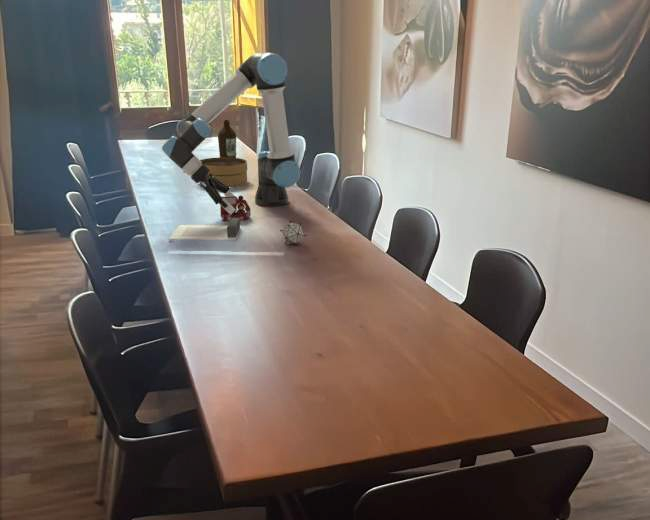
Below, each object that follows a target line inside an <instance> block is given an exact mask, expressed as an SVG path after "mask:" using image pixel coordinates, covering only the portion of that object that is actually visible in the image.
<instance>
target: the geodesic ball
mask: <svg viewBox="0 0 650 520" xmlns="http://www.w3.org/2000/svg"><path fill="white" fill-rule="evenodd" d="M301 225H302V222H300V223H294V222H291V220H289V223H288V224H287V225H286V226H285V227H284V228H283V229H280V230H279V232H282V235H283V237H284V240H285V241H284V243H285V244H287V243H290V244H295V246H296V247H297V246H298V243H299V242H300V241H301V240H302V239H303V238H304V237H307V235H306V234H305V233H304V230H303V228H302V226H301Z"/></svg>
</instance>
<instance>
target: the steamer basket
mask: <svg viewBox="0 0 650 520" xmlns="http://www.w3.org/2000/svg"><path fill="white" fill-rule="evenodd" d="M199 160H200V161H201V162H202V165H205V166H206V167H207V168H208V169H209V170H210V171H209V172H208V173H207V174H208V175H209V174H212V175H213V176H214V177H215V178H217V179H218V180H219V181H221V182H222V183H224V184H225V185H226V186H228V187H233V188H238V187H237V186H239V187H243V186H246V185H247V184H248V162H247V161H248V160H246V159H244V158H239V157H236V158H226V157H221V158H220V157H209V158H202V159H199ZM199 183H200V184H201V183H202V182H201V181H200V182H199ZM246 183H247V184H246ZM200 184H199V185H200Z"/></svg>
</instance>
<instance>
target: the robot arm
mask: <svg viewBox="0 0 650 520" xmlns="http://www.w3.org/2000/svg"><path fill="white" fill-rule="evenodd" d="M234 72H235V73H234V75H232V76H231V77H230V78H229V79H228V80H227V81H225V83H223V84H222V86H220V87H219V88H218V89H217V90H216V91H214V93H212V94H211V95H210V96H209V97H208V98H207V99H206V100H205V101H204V102H203V103H201V105H199V106H198V107H197V108H195V110H194V111H193V112H191V114H190V115H188V116H187V117H186V118H184V119H181V120H179V121H178V123H177V124H176V132H177V134H178V135H179V136H178V137H176V136H175V135H172V136H171V137H169V138H168V140H166V142H165V143H163V145H162V146H161V151H162V152H163V153H164V154H165V155H166V156H167V157H168V158H169V159H170V160H171V161H172V162H173V163H175V164H176V166H177V167H179V168H180V169H181V170H182V173H183V174H186V175H187V176H188V177H190V179H191V180H192V181H193V182H195V184H198V183H199V182H200V181H201V182H202V183H201V184H199V185H200V186H201V187H202V188H203V189H204V191H205V192H206V193H207V194H208V196H209V197H210V198H211V199H212V201H213V202H214V204H215V205H218V204H219V205H221V206H222V207H223V208H224V209H225V210H226V211H227V212H228V213H229V214H230V215H231V214H232V213H233V212H234V211H235V209H234V208H233V207H232V206H231V205H230V204H229V203H228V202H227V201H226V200H225V199H224V198H223V199H222V197H223V196H224V197H228V196H236V195H235V193H234V194H233V193H232V191H231V190H230V189H231V188H229V187H228V186H226V185H225V184H224V183H222V182H221V181H219V180H218V179H217V178H215V177H214V176H213V175H212V174H209V175H208V174H207V173H208V172H209V171H210V170H209V169H208V168H207V167H206V166H205V165H202V162H201V161H200V160H201V159H199V157H197V156H196V155H195V154H194V153H193V152H194V151H195V150H196V149H197V147H199V146H200V145H201V144H202V143H203V141H204V140H206V139H207V138H208V137H209V135H210V134H211V133H212V128H211V127H210V126H209V124H210V123H212V121H213V120H215V119H216V118H217V117H218V116H219V115H220V114H221V113H222V112H223V111H225V110H226V109H227V108H228V107H229V106H230V105H231V104H232V103H233V102H235V100H237V98H239V97H240V96H241V95H242V94H243V93H244V92H246V90H248V89H253V87H255V86H256V90H257V91H258V92H259V93H260V94H261V100H262V106H263V113H264V122H265V126H266V127H265V128H266V133H267V134H266V135H267V141H268V149H269V150H268V151H267V150H265V151H259V152H258V153H257V171H258V174H257V175H258V180H257V181H258V186H257V190H256V192H255V196H254V203H255V204H256V205H259V206H265V207H278V206H284V205H287V204H289V201H290V200H289V194H288V192H287V188H290V187H292V186H294V185H295V184H297V182H298V181H299V179H300V177H301V168H300V166H299V164H298V163H297V162H296V157H295V151H293V150H292V149H291V147H290V139H289V130H288V124H287V123H288V122H287V117H286V107H285V102H284V101H285V100H284V93H283V91H284V90H285V88H286V78H287V76H288V65H287V63H286V61H285V59H284V58H283V57H282V56H281V55H279V54H276V53H273V52H262V51H259V52H256V53H254V54H252V55H250V56H249V57H248V58H247V59H246V60H245V61H244V62H243V63H242V64H241V65H239V67H237V68H236V69H235V71H234ZM219 192H220V193H222V194H224V195H223V196H221V194H220V193H219ZM237 199H238V197H237Z"/></svg>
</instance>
